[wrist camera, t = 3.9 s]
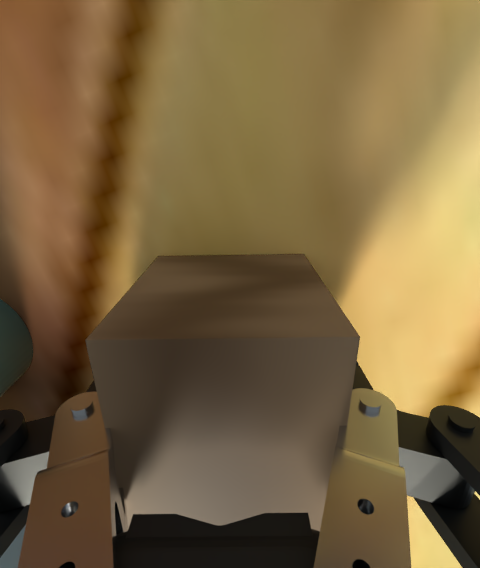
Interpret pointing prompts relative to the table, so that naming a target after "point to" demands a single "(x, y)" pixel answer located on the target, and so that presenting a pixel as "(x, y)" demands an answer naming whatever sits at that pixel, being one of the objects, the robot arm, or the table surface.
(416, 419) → the robot arm
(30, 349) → the teal glossy cylinder
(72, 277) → the table surface
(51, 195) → the table surface
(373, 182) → the table surface
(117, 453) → the walnut block
